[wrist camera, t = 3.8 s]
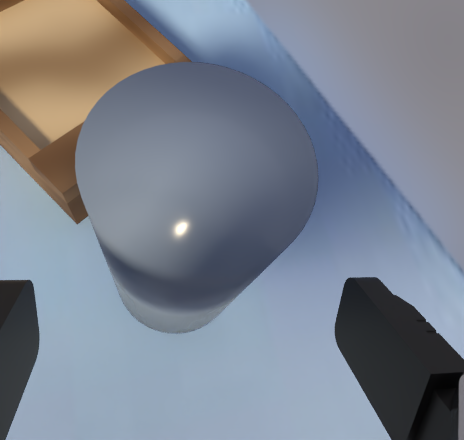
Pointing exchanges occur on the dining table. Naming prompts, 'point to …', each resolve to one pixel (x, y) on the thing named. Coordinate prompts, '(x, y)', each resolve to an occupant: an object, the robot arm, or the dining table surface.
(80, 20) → the wooden tray
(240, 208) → the grey domed cylinder
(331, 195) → the dining table surface
